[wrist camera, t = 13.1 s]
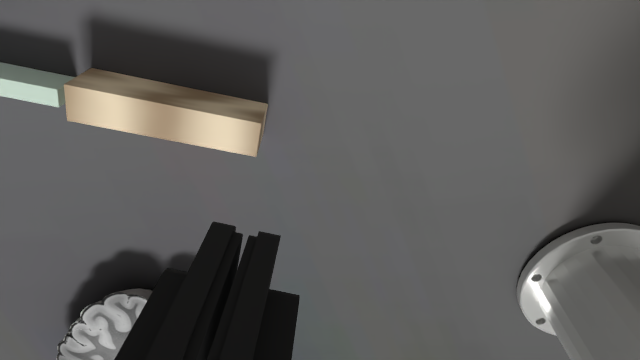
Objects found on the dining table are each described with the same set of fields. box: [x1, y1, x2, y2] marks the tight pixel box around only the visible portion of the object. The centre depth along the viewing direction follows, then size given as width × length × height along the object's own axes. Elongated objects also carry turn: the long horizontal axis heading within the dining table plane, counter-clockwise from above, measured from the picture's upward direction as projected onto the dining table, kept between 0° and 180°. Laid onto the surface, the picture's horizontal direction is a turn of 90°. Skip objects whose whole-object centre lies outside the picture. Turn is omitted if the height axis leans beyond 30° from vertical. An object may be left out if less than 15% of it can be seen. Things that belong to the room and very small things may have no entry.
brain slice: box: [56, 288, 152, 360], centre depth 41 cm, size 20×17×3 cm
